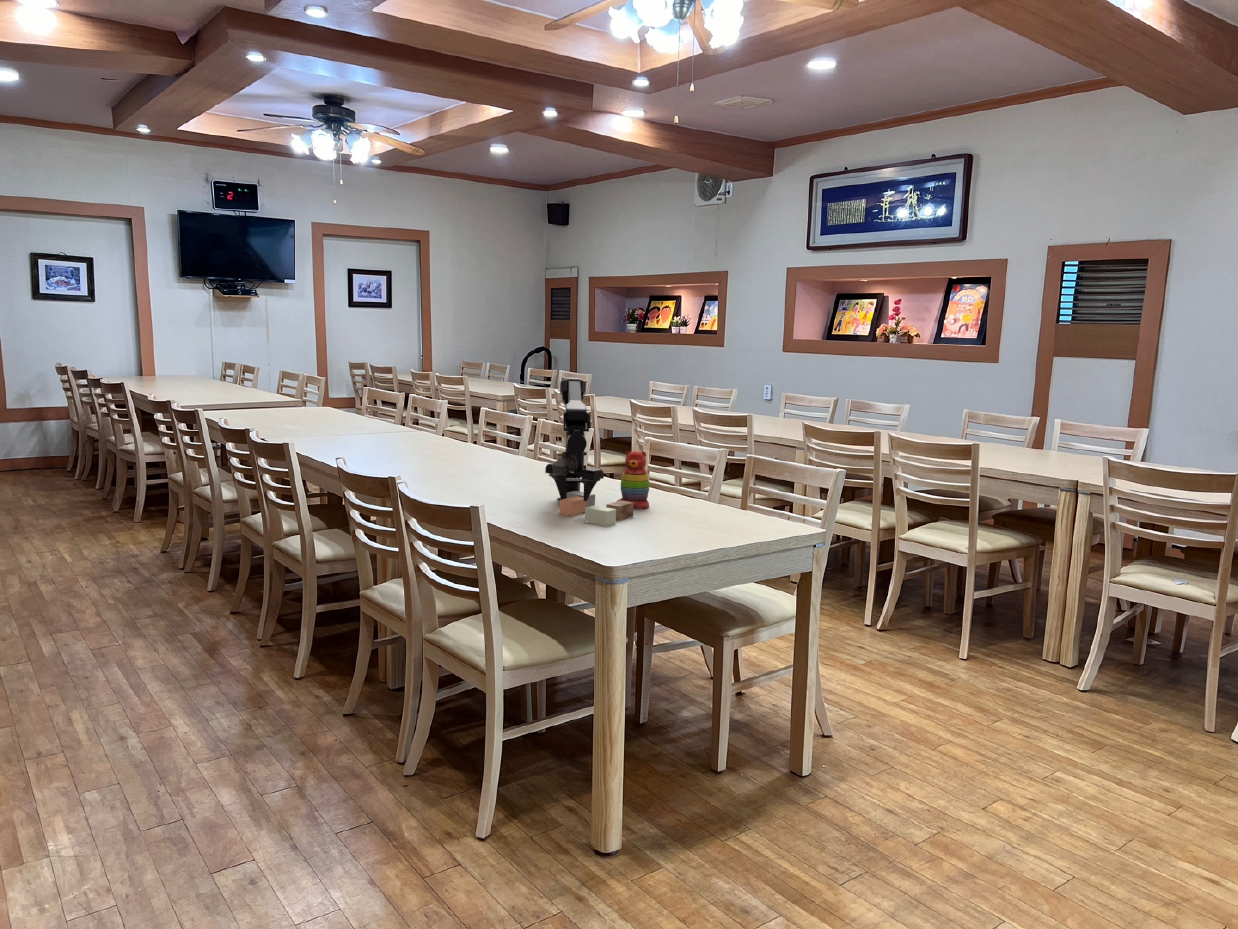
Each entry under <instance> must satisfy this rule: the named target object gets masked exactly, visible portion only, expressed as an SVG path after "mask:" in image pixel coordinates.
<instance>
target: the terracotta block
mask: <svg viewBox="0 0 1238 929" xmlns="http://www.w3.org/2000/svg"><path fill="white" fill-rule="evenodd" d="M558 506H559V508H558V509H559V512H558V514H559V513H560V514H559V515H562V514H564V516H567V515H574V516H577V514H578V515H581V514H580V513H582V514H584V513H583V512H585V507H587V501H584V498H582V497H571V498H567V499H562V500H559V505H558Z"/></svg>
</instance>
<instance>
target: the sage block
mask: <svg viewBox="0 0 1238 929" xmlns="http://www.w3.org/2000/svg"><path fill="white" fill-rule="evenodd" d="M585 521H588V522H592V523H591V524H593V523H596V524H595V525H598V524H601V525H600V526H603V525H606V526H605V527H608V525H609V526H612V525H611V524H613V525H616V524H615V523H616V522H617V520H616V509H612V508H607V507H606V506H600V505H596V504H595V505H593V506H589V507H585V513H584V522H585ZM588 522H587V523H588Z"/></svg>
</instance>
